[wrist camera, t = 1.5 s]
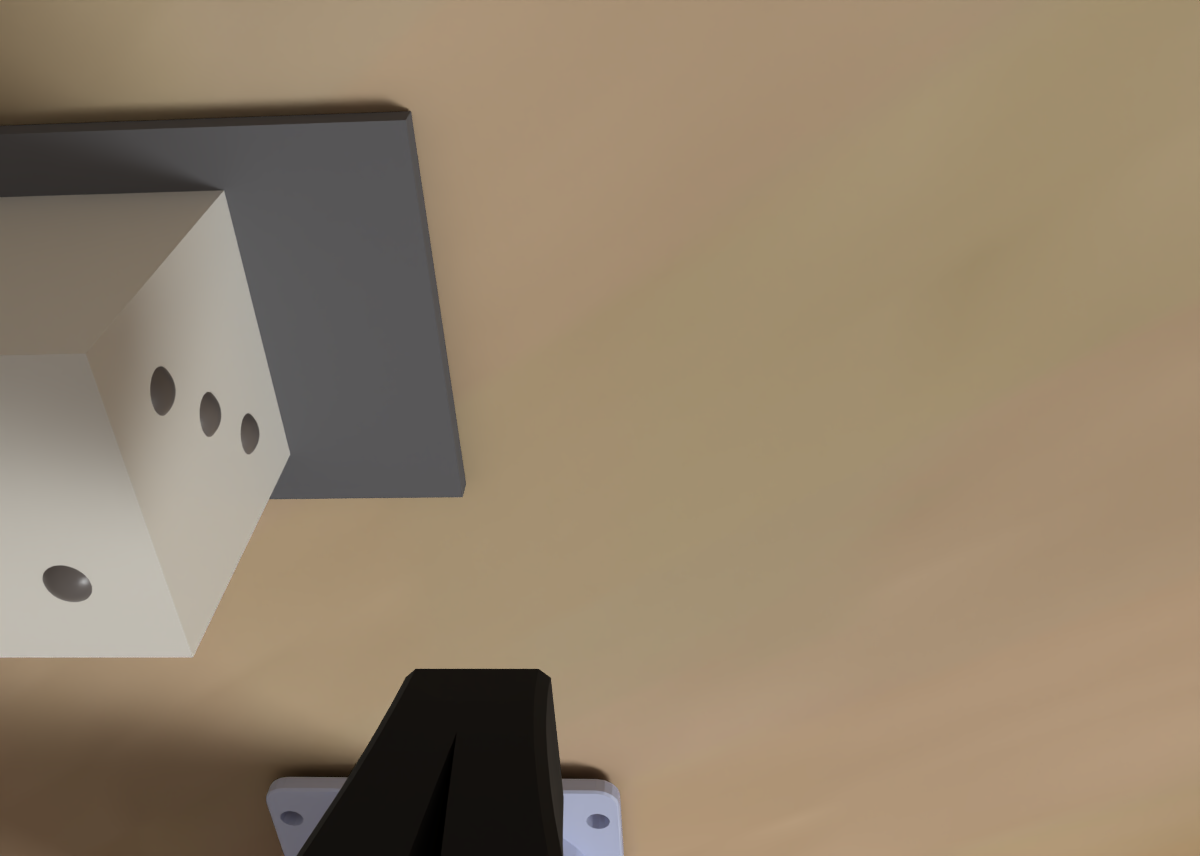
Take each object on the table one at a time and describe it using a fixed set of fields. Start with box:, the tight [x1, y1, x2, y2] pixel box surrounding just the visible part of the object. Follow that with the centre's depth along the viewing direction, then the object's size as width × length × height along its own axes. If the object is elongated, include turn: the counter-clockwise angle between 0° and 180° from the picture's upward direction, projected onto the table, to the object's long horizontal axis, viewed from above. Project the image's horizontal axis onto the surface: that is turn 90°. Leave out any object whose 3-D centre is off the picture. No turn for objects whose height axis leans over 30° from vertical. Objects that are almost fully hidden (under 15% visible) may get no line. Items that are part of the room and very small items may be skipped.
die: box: [0, 190, 290, 657], centre depth 17 cm, size 5×5×5 cm
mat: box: [0, 111, 466, 499], centre depth 19 cm, size 7×13×1 cm, turn 93°
